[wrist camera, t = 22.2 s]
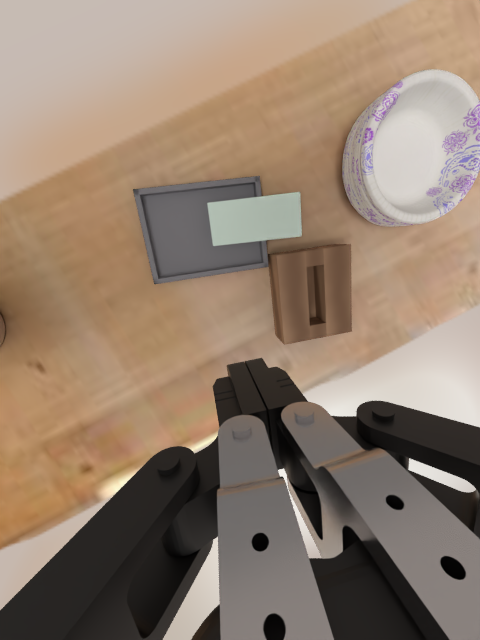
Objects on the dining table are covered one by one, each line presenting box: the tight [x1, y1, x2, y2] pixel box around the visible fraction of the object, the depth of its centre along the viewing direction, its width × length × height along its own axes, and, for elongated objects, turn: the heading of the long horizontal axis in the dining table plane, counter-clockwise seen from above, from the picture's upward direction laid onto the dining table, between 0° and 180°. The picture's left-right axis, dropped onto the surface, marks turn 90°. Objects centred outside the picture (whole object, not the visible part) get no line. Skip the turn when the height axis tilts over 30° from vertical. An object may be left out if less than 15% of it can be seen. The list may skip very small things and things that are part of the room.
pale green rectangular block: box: [207, 192, 302, 246], centre depth 34 cm, size 2×5×11 cm
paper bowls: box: [342, 69, 480, 227], centre depth 33 cm, size 15×15×8 cm
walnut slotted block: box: [268, 244, 352, 345], centre depth 38 cm, size 10×12×4 cm
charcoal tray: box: [133, 176, 269, 284], centre depth 34 cm, size 15×11×2 cm
